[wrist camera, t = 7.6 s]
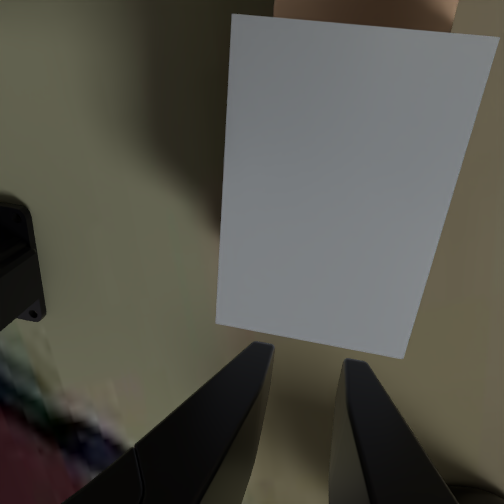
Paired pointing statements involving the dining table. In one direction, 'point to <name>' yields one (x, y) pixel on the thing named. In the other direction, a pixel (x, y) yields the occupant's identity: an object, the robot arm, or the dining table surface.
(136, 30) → the dining table surface
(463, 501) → the supplement bottle
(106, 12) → the dining table surface
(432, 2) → the key box
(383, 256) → the cover
